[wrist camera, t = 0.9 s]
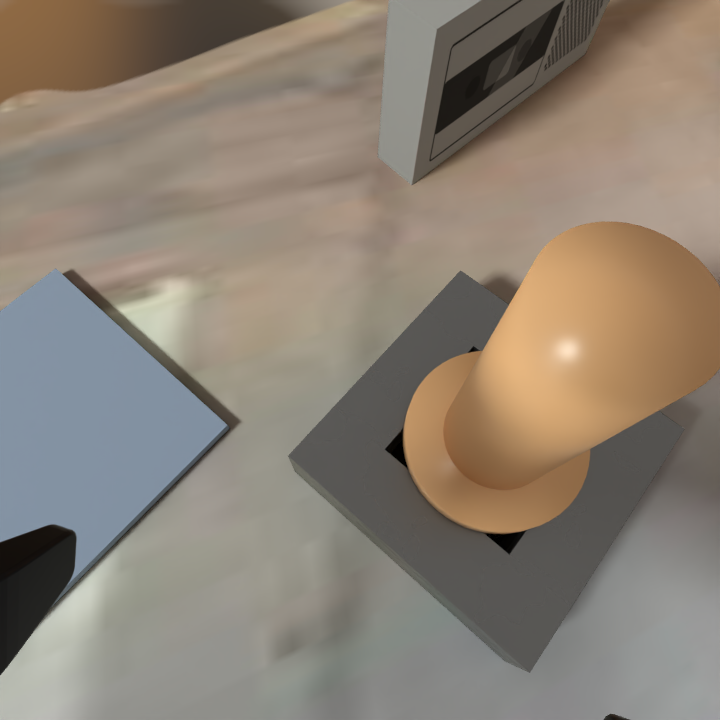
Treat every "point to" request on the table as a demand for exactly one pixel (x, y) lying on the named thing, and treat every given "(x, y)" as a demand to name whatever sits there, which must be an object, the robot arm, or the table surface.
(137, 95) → the table surface
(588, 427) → the joystick handle
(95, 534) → the mat
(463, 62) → the cassette player
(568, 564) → the housing block
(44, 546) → the robot arm
